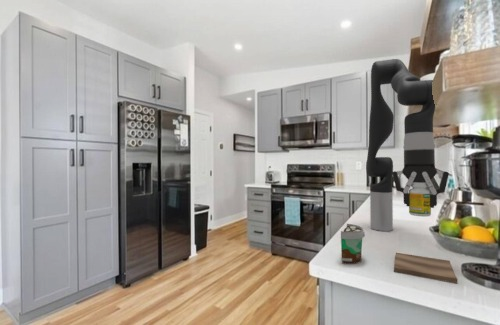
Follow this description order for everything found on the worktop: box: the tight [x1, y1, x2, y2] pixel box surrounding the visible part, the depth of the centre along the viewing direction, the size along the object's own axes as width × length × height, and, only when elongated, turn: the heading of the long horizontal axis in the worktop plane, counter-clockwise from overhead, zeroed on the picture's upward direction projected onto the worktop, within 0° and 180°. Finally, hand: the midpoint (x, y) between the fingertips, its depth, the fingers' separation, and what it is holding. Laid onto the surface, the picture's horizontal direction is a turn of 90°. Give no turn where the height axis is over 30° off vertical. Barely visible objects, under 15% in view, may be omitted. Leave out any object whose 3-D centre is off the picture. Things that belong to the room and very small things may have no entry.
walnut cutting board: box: [393, 252, 458, 284], centre depth 74 cm, size 14×14×1 cm
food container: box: [340, 223, 366, 265], centre depth 81 cm, size 12×6×10 cm, turn 151°
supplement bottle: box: [408, 182, 432, 218], centre depth 74 cm, size 5×5×10 cm
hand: (419, 206), depth 74 cm, fingers closed on supplement bottle, 5 cm apart
